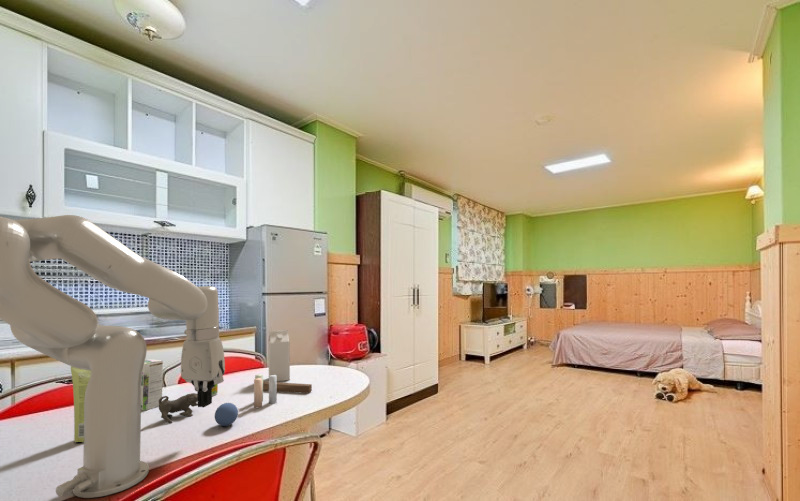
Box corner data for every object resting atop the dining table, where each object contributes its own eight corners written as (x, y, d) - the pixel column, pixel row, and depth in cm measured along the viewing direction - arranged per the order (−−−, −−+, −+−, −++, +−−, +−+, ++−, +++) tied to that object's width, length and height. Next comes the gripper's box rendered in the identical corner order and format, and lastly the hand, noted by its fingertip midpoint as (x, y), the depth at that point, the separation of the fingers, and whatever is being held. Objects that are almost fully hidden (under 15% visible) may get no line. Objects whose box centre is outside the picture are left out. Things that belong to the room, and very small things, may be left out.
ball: (228, 430, 105) (228, 407, 105) (209, 428, 106) (209, 406, 107) (242, 421, 111) (242, 400, 111) (224, 420, 112) (224, 399, 112)
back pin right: (274, 403, 125) (273, 377, 126) (267, 403, 126) (267, 376, 126) (278, 401, 128) (277, 375, 128) (271, 400, 128) (271, 374, 129)
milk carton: (268, 378, 155) (268, 330, 156) (286, 375, 158) (286, 328, 159) (270, 382, 149) (270, 332, 150) (289, 380, 152) (289, 331, 153)
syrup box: (133, 408, 123) (133, 362, 124) (151, 402, 128) (152, 358, 129) (144, 411, 121) (145, 363, 121) (163, 405, 126) (163, 359, 127)
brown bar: (309, 393, 135) (309, 386, 135) (258, 390, 140) (258, 383, 140) (311, 391, 137) (311, 384, 137) (261, 388, 142) (261, 381, 142)
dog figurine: (163, 426, 109) (163, 399, 109) (154, 421, 113) (154, 395, 113) (206, 412, 119) (205, 387, 119) (196, 408, 122) (196, 384, 122)
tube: (84, 434, 104) (86, 360, 105) (105, 433, 104) (106, 360, 105) (68, 444, 98) (70, 366, 99) (90, 443, 99) (91, 365, 100)
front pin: (259, 408, 122) (259, 380, 122) (252, 407, 122) (252, 380, 123) (263, 405, 124) (263, 378, 124) (257, 404, 125) (257, 378, 125)
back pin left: (260, 402, 126) (260, 376, 127) (253, 402, 127) (253, 376, 127) (264, 400, 129) (264, 374, 129) (258, 399, 129) (258, 374, 130)
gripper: (167, 336, 99) (169, 409, 99) (217, 337, 95) (219, 413, 95) (189, 330, 106) (191, 398, 106) (237, 331, 103) (239, 401, 102)
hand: (204, 405), depth 101 cm, fingers closed
